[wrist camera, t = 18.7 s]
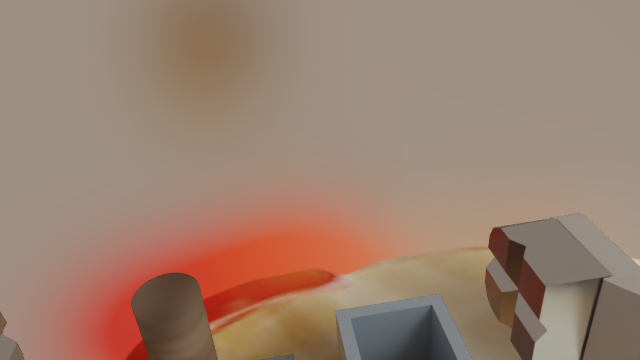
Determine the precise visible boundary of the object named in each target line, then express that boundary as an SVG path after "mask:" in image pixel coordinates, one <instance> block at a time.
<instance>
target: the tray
mask: <svg viewBox="0 0 640 360" xmlns="http://www.w3.org/2000/svg"><path fill="white" fill-rule="evenodd" d="M262 360H294V354H292V355H286V356H280V357H274V358H268V359H262Z"/></svg>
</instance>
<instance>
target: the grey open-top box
mask: <svg viewBox="0 0 640 360" xmlns="http://www.w3.org/2000/svg"><path fill="white" fill-rule="evenodd" d="M335 313H336V324H337V336H338V348H339V359H340V360H473V359H472V357H471V355H470V353H469V351H468V349H467V347H466V345H465V343H464V341H463V339H462V337H461V335H460V333H459V331H458V329H457V327H456V325H455V323H454V321H453V319H452V317H451V315H450V313H449V311H448V309H447V307H446V305H445V303H444V301H443V299H442V297H441V295H440V294H437V295H430V296H424V297H418V298H412V299H406V300H400V301H394V302H388V303H381V304H375V305H369V306H363V307H357V308H351V309H345V310H338V311H335Z"/></svg>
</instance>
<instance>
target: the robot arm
mask: <svg viewBox="0 0 640 360" xmlns="http://www.w3.org/2000/svg"><path fill="white" fill-rule="evenodd" d="M488 247H489V249H490V250H491V252H492V253H493V255H494V256H495V257H494V259H493V260H492V261H491V262H490V263H489V265H488V266H487V267H486V277H485V285H486V291H487V296H488V300H489V302H490V305H491V308H492V310H493V312H494V313H495V315H496V317H497V319H498V320H499V321H500V322H502V323H504V324H506V325H507V326H509V327H511V328H512V334H511V342H512V344H513V345H514V347H515V349H516V350H517V352H518V353H519V355H520V357H521V358H522V360H640V267H639V266H638V265H637V264H636V263H635V262H634V261H633V260H632V259H631V258H630V257H629V256H628V255H627V254H626V253H625V252H624V251H623V250H622V249H620V248H619V247H618V246H617V245H616V244H615V243H614V242H613V241H612V240H611V239H610V238H609V237H608V236H607V235H606V234H604V232H602V230H601V229H599V228H598V227H597V226H596V225H595V224H594V223H593V222H592V221H591V220H590V219H589V218H588V217H587V216H585V215H583V214H580V213H575V214H569V215H563V216H557V217H552V218H550V219H545V220H538V221H533V222H526V223H520V224H513V225H507V226H501V227H495V228H493V230H492V232H491V234H490V238H489V246H488ZM6 323H7V322H6V321H5V319H4V317H3V316H2V314H1V312H0V360H24V357H23V353H22V351H21V349H20V347H19V345H18V343H17V342H15V341H13V340H12V339H10V338H8V337H6V336H4V335H3V334H2V333H3V330H4V327H5V325H6Z"/></svg>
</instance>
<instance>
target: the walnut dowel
mask: <svg viewBox="0 0 640 360" xmlns="http://www.w3.org/2000/svg"><path fill="white" fill-rule="evenodd" d="M131 306H132V310H133V313H134V315H135V318H136V321H137V324H138V326H139V330H140V332H141V336H142V338H143V341H144V344H145V347H146V350H147V353H148V356H149V358H150V360H218V358H217V354H216V350H215V346H214V342H213V338H212V334H211V330H210V326H209V322H208V318H207V314H206V310H205V307H204V303H203V299H202V295H201V291H200V287H199V283H198V282H197V280H196V279H195V278H194V277H192V276H190V275H187V274H183V273H169V274H164V275H161V276H158V277H155V278H153V279H151V280H149V281H147V282H146V283H145V284H143V285H142V286H141V287H140V288H139V289H138V290H137V291H136V293H135V294H134V296H133V298H132V303H131Z"/></svg>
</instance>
